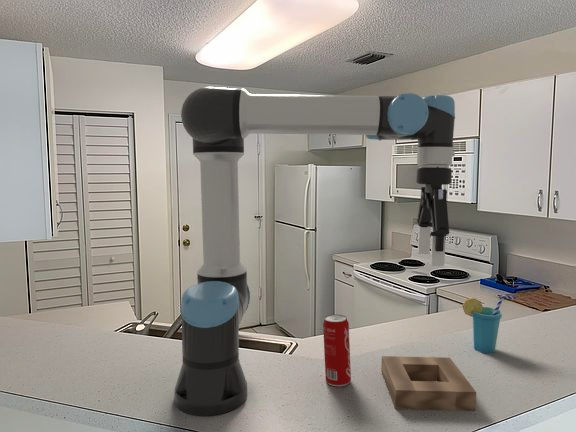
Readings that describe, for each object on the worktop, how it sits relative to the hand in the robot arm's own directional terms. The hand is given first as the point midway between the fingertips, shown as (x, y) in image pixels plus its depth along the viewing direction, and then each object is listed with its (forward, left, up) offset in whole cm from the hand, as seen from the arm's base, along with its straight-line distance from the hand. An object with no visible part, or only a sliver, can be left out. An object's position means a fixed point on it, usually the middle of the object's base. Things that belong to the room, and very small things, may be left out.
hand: (430, 259), depth 101 cm
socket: (-2, -8, -28) cm, 29 cm away
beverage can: (-21, -5, -28) cm, 35 cm away
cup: (+21, +15, -28) cm, 38 cm away
